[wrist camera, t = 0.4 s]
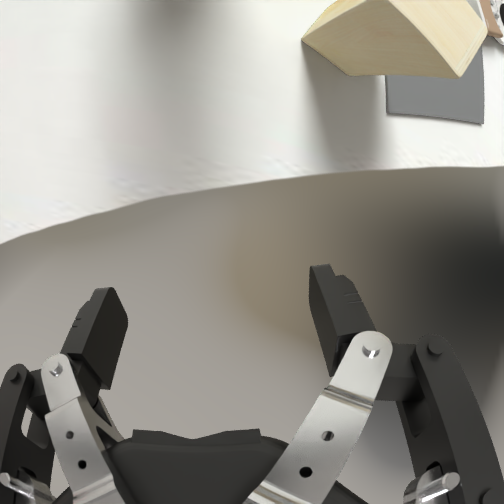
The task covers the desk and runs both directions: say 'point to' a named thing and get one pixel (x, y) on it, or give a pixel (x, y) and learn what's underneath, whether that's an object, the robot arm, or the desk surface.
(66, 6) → the desk surface
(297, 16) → the desk surface
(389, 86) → the mat
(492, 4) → the record player
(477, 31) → the toy refrigerator
